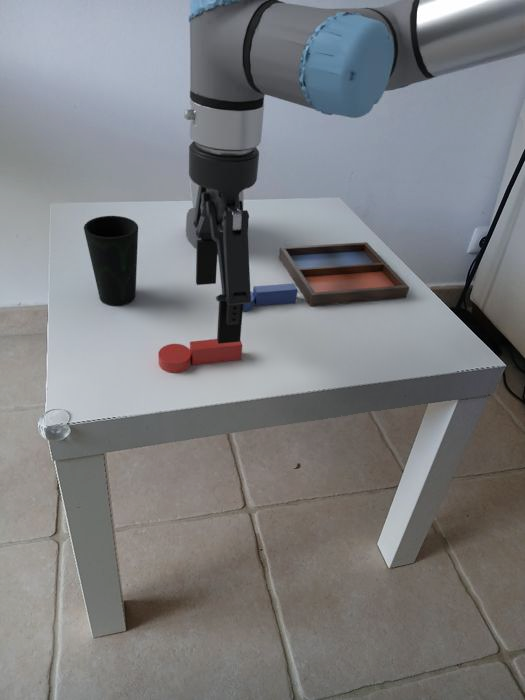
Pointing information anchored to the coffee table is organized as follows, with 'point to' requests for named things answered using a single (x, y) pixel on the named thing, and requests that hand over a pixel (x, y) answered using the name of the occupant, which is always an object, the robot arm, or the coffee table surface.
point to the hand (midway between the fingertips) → (216, 310)
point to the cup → (113, 257)
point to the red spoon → (197, 354)
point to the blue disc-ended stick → (272, 295)
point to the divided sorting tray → (341, 273)
